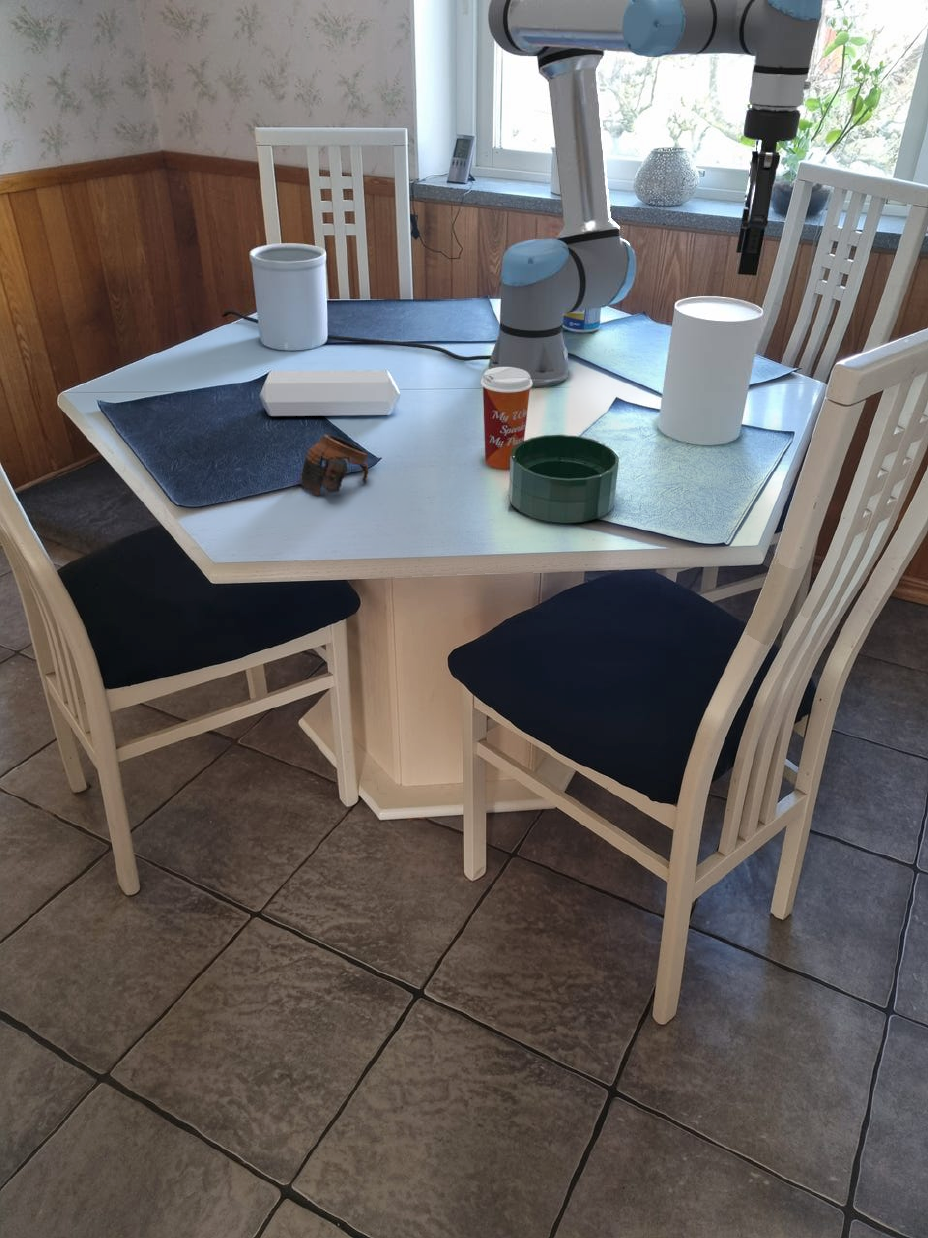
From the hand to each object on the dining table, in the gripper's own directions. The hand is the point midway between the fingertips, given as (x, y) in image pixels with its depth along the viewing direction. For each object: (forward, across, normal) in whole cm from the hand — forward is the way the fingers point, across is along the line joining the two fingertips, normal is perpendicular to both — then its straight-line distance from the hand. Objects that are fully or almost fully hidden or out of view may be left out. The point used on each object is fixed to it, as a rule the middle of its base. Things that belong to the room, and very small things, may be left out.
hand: (745, 263), depth 145 cm
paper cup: (+26, -24, +32) cm, 48 cm away
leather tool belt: (+26, -39, +55) cm, 72 cm away
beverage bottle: (+27, +47, +29) cm, 61 cm away
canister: (+26, -3, +3) cm, 27 cm away
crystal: (+27, -12, +65) cm, 71 cm away
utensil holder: (+27, +23, +85) cm, 92 cm away
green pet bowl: (+26, -36, +22) cm, 49 cm away
